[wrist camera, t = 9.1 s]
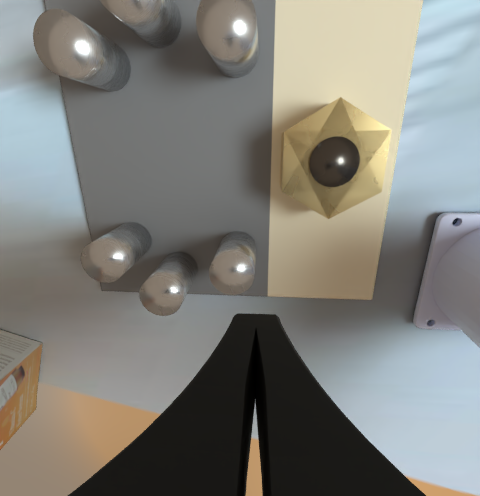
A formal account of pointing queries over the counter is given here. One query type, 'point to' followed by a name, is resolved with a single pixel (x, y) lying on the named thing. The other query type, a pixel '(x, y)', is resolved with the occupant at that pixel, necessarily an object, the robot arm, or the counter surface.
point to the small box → (17, 382)
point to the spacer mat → (240, 141)
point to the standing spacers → (115, 78)
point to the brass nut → (334, 158)
